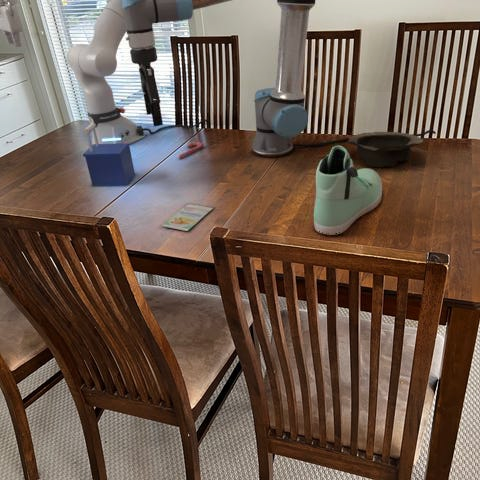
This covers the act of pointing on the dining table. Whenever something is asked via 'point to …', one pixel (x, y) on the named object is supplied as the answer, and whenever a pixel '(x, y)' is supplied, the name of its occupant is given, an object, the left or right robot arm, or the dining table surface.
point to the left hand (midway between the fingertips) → (14, 45)
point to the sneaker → (343, 192)
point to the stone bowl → (384, 147)
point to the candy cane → (198, 146)
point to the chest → (111, 169)
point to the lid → (102, 146)
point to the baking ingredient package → (187, 217)
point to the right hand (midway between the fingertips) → (154, 119)
